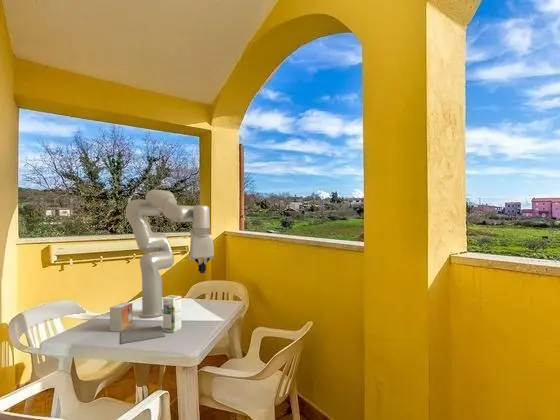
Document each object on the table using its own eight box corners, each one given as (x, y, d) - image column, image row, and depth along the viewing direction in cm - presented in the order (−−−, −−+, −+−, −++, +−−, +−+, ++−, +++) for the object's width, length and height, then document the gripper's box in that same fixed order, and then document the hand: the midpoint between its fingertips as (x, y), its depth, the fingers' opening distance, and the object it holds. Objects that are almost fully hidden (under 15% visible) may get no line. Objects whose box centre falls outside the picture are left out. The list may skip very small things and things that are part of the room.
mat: (121, 332, 137) (121, 331, 137) (161, 326, 144) (161, 325, 144) (121, 344, 124) (121, 342, 124) (164, 336, 131) (164, 335, 131)
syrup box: (162, 331, 138) (162, 297, 138) (171, 327, 143) (171, 294, 143) (173, 333, 136) (173, 298, 136) (182, 328, 141) (181, 295, 142)
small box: (120, 332, 138) (120, 307, 138) (109, 331, 139) (109, 307, 139) (132, 326, 146) (132, 302, 146) (122, 325, 147) (122, 302, 147)
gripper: (186, 233, 139) (186, 275, 139) (219, 232, 146) (220, 272, 145) (183, 233, 146) (183, 273, 146) (215, 231, 153) (216, 270, 152)
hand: (202, 272), depth 146 cm, fingers closed
